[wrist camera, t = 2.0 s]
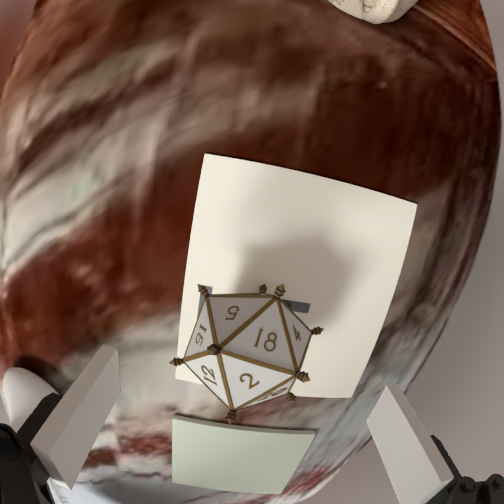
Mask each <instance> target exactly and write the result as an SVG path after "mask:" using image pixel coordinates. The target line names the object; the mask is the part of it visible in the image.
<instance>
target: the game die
mask: <svg viewBox="0 0 504 504" xmlns="http://www.w3.org/2000/svg"><path fill="white" fill-rule="evenodd" d="M259 288H260V289H259V291H260V293H238V294H209V293H208V291H207V290H208V289H206V286H203V285H200V284H198V290H199V291H198V292H200V293H201V295H203V296H204V297H205V299H204V302H203V304H202V307H201V310H200V313H199V315H198V318H197V321H196V324H195V326H194V329H193V332H192V335H191V337H190V340H189V343H188V346H187V349H186V351H185V354H184V357H183V358H179V357H178V358H174V359H173V360H172V361H171V362H170V364H172V365H175V366H176V367H177V366H178V365H179V366H181V364H185V365H186V366H187V367H188V368H189V369H190V370H191V371H192V372H193V373H194V374H195V375H196V377H197V378H198V379H199V380H200V381H201V382H202V383H203V384H204V385H205V386H206V387H207V388H208V389H209V390H210V391H211V392H212V393H213V394H214V395H215V396H216V397H217V398H218V399H219V400H220V401H222V402H223V403H224V404H225V405H226V406H227V407H228V408H229V409H230V412H229V413H228V416H227V417H226V418H227V420H228V423H229V425H230V424H231V423H232V422H233V421H235V420H236V419H235V418H236V417H237V416H236V411H238V410H241V409H245V408H248V407H251V406H254V405H257V404H260V403H263V402H266V401H269V400H272V399H275V398H278V397H281V396H283V395H286V396H287V397H286V398H288V401H290V400H291V401H295V397H296V396H295V395H294V394H293V393H292V392H290V390H291V388H292V387H293V385H294V383H295V381H296V379H298V380H300V381H302V382H303V383H304V382H307V381H311V380H310V378H309V376H308V373H305V372H304V371H303V372H300V371H301V368H302V365H303V362H304V359H305V356H306V353H307V350H308V346H309V343H310V340H311V337H312V335H317V334H321V332H322V331H323V330H324V329H323V328H321V327H319V326H317V327H316V328H315V327H314V329H312V330H310V329H309V328H308V327H307V325H306V324H305V323H304V322H303V321H302V320H301V319H300V318H299V317H298V316H297V315H296V314H295V313H294V312H293V311H292V310H291V309H290V308H289V307H288V306H287V305H286V304H285V303H284V302H283V301H282V299H281V298H280V297H281V296H284V292H286V291H285V287H284V283H283V284H282V285H280V286H277V287H276V290H275V292H274V293H275V295H272V294H266V290H267V287H266V285H265V283H264V284H263V285H262V286H260V287H259Z"/></svg>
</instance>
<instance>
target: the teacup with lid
mask: <svg viewBox="0 0 504 504" xmlns="http://www.w3.org/2000/svg"><path fill="white" fill-rule="evenodd" d="M328 1H329V2H330V3H332V4H333V5H334V6H336V7H337V8H339V9H340V10H342V11H344V12H346V13H348V14H350V15H352V16H354V17H357V18H360V19H363V20H366V21H368V22H370V23H373V24H380V23H386V22H392V21H395V20H397V19H399V18H400V17H401V16H402V15H403V14H404V13H405V12H406V11H408V10H409V9H410V8H411V7H412V6H413V5H414V4H415V3H416V2H417V1H418V0H328Z"/></svg>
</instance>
